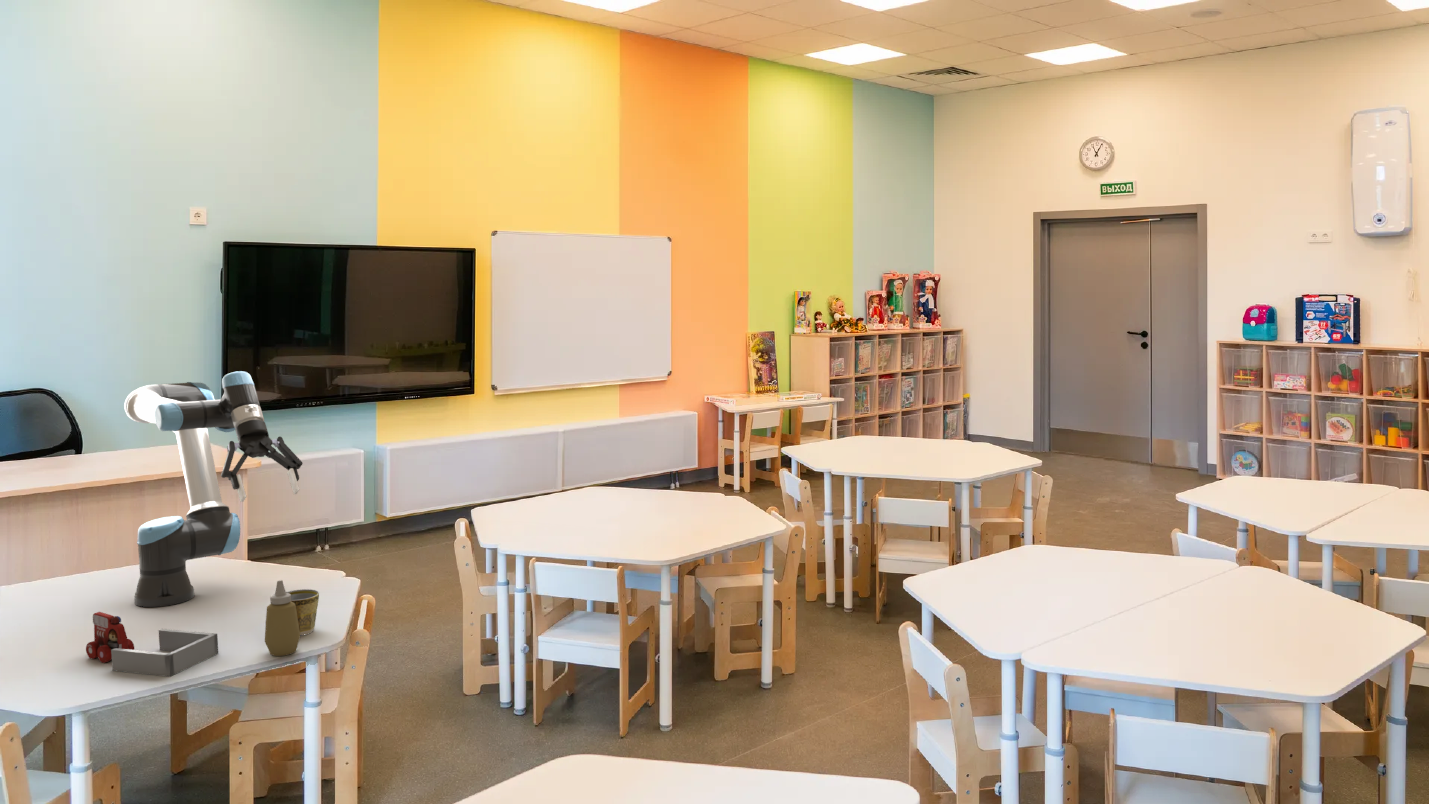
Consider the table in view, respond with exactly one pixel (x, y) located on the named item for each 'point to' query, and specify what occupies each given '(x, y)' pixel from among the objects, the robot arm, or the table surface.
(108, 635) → the toy fire truck
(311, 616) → the ceramic cup
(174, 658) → the box
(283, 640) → the squeeze bottle
